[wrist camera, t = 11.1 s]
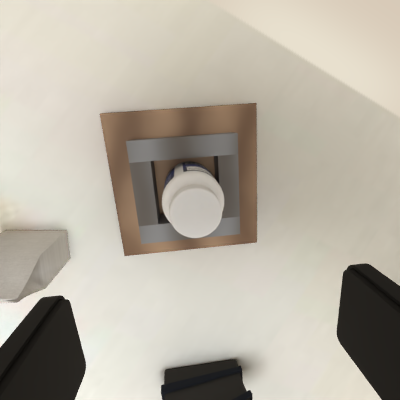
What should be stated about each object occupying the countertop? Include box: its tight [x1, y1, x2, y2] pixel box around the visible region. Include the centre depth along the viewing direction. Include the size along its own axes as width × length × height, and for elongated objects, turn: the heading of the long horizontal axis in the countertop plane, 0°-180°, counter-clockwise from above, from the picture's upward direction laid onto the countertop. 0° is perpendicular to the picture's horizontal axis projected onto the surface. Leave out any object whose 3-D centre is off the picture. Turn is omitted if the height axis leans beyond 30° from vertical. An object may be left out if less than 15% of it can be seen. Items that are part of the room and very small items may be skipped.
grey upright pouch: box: [0, 230, 70, 303], centre depth 25 cm, size 4×7×10 cm, turn 88°
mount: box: [100, 103, 257, 256], centre depth 27 cm, size 16×16×4 cm
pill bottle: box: [162, 161, 224, 238], centre depth 23 cm, size 5×5×10 cm
